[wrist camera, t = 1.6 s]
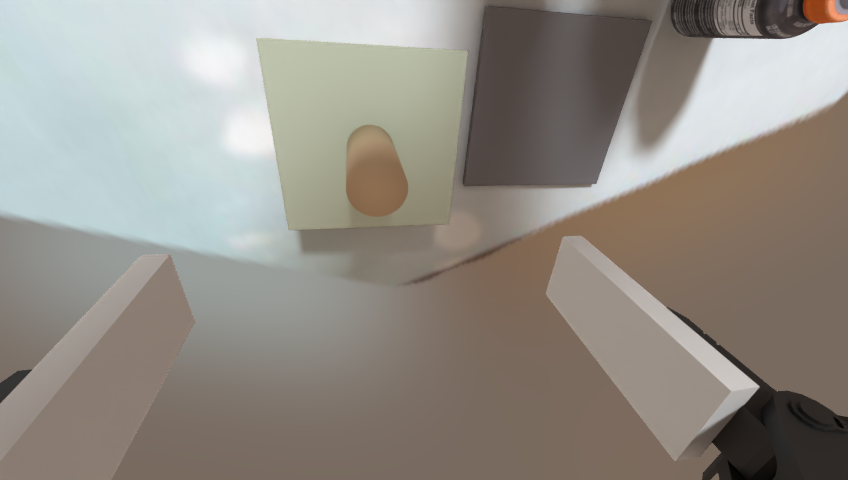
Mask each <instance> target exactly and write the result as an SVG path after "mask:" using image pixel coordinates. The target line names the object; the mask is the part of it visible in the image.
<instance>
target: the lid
mask: <svg viewBox="0 0 848 480" xmlns="http://www.w3.org/2000/svg"><path fill="white" fill-rule="evenodd" d="M256 40H257V46H258V52H259V58H260V64H261V70H262V76H263V82H264V88H265V93H266V99H267V105H268V111H269V117H270V123H271V129H272V135H273V141H274V147H275V153H276V159H277V164H278V170H279V176H280V182H281V188H282V194H283V200H284V206H285V212H286V218H287V224H288V229H289V230H307V229H334V228H360V227H387V226H413V225H440V224H449V217H450V208H451V199H452V190H453V181H454V172H455V163H456V154H457V146H458V137H459V128H460V119H461V110H462V101H463V92H464V83H465V74H466V65H467V56H468V51H464V50H448V49H432V48H416V47H399V46H383V45H367V44H351V43H335V42H319V41H303V40H286V39H270V38H256Z"/></svg>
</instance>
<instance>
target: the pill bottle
mask: <svg viewBox="0 0 848 480" xmlns="http://www.w3.org/2000/svg"><path fill="white" fill-rule="evenodd" d="M671 19H672V23H673V26H674V28H675V29H676V31H677V32H678V33H680V34H681V35H683V36H687V37H704V38H752V39H755V38H756V39H786V38H792V37H795V36H798V35H800V34H803V33H805V32H807V31H809V30H810V29H812V28H814V27H815V26H817V25H818V24H823V23H834V22H843V21H846V20H848V0H673V2H672V8H671Z"/></svg>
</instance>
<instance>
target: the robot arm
mask: <svg viewBox="0 0 848 480" xmlns="http://www.w3.org/2000/svg"><path fill="white" fill-rule="evenodd" d="M546 295H547V297H548V298H549V299H550V301H551V302H552V303H553V304H554V306H555V307H556V308H557V309H558V311H559V312H560V313H561V315H562V316H563V317H564V319H565V320H566V321H567V323H568V324H569V325H570V326H571V328H572V329H573V330H574V332H575V333H576V334H577V335H578V337H579V338H580V339H581V341H582V342H583V343H584V344H585V346H586V347H587V348H588V350H589V351H590V352H591V354H592V355H593V356H594V357H595V359H596V360H597V361H598V363H599V364H600V365H601V366H602V368H603V369H604V370H605V372H606V373H607V374H608V375H609V377H610V378H611V379H612V381H613V382H614V383H615V384H616V386H617V387H618V388H619V390H620V391H621V392H622V394H623V395H624V396H625V398H626V399H627V400H628V401H629V403H630V404H631V405H632V407H633V408H634V409H635V410H636V412H637V413H638V414H639V416H640V417H641V418H642V419H643V421H644V422H645V423H646V425H647V426H648V427H649V428H650V429H651V431H652V432H653V434H654V435H655V436H656V437H657V439H658V440H659V441H660V443H661V444H662V445H663V447H664V448H665V449H666V450H667V452H668V453H669V454H670V456H671V457H672V458H673V460H674V461H675V462H676V461H680V460H685V459H690V458H695V457H700V456H701V455H702V454H703V452H704V451H705V450H706V449H707V448H708V446H709V445H710V444H711V443H713V444H714V445H715V446H716V447H717V448H718V449H719V450H720V451H721V454H720V455H719V456H718V457H717V458H716V459H715V460H714V461H713V462H712V464H711V465H710V466H709V467H708V468H707V469H706V470H705V471H704V472H703V478H702V480H711V479H712V477H713V476H714V475H715V474H716V473H718V474H719V480H848V417H844V416H838V415H836V414H835V413H834V412H833V411H831V410H830V409H828V408H827V407H825V406H823V405H822V404H820V403H819V402H817V401H815V400H812V399H810V398H808V397H806V396H804V395H802V394H798V393H794V392H790V391H778V392H777V391H775V390H774V389H773V388H771V387H770V386H769V385H768V384H767V383H765V382H764V381H763V380H762V379H760V378H759V377H758V376H757V375H756V374H754V373H753V372H752V371H751V370H749V369H748V368H747V367H746V366H745V365H743V364H742V363H741V362H740V361H739V360H737V359H736V358H735V357H733V355H731V354H730V353H729V352H727V351H726V350H725V349H724V348H723V347H722V346H720V345H717V344H716V341H714V340H713V339H712V338H710V337H709V336H708V335H707V334H704V333H703V331H702V330H701V329H700V328H698V327H697V326H696V325H695V324H694V323H692V322H691V321H690V320H689V319H688V318H686V317H684V316H682V315H681V314H679V313H677V312H675V311H674V310H672V309H670V308H668V307H665V306H664V305H663V304H661V303H660V302H659V301H658V300H657V299H655V298H654V297H653V296H652V295H651V294H650V293H648V292H647V291H646V290H644V288H642V287H641V286H640V285H639V284H638V283H637V282H635V281H634V280H633V279H632V278H631V277H629V276H628V275H627V274H626V273H625V272H624V271H622V270H621V269H620V268H619V267H618V266H616V265H615V264H614V263H613V262H612V261H610V260H609V259H608V258H607V257H606V256H605V255H603V254H602V253H601V252H600V251H599V250H597V249H596V248H595V247H594V246H593V245H592V244H590V243H589V242H588V241H587V240H586V239H584V238H583V237H582V236H566V237H563V239H562V242H561V246H560V248H559V252H558V255H557V258H556V262H555V265H554V268H553V272H552V274H551V278H550V281H549V284H548V288H547V291H546ZM194 324H195V320H194V317H193V315H192V312H191V309H190V307H189V304H188V301H187V299H186V296H185V293H184V290H183V287H182V285H181V282H180V280H179V277H178V274H177V271H176V268H175V266H174V263H173V260H172V257H171V255H170V254H159V255H141V256H140V257H139V258H138V259H137V260H136V261H135V262H134V263H133V264H132V265H131V266H130V268H129V269H128V270H127V271H126V272H125V273H124V274H123V275H122V276H121V277H120V278H119V279H118V280H117V281H116V282H115V283H114V284H113V286H112V287H111V288H110V289H109V290H108V291H107V292H106V293H105V294H104V295H103V296H102V297H101V298H100V299H99V300H98V301H97V302H96V303H95V304H94V306H92V308H91V309H90V310H89V311H88V312H87V313H86V314H85V315H84V316H83V317H82V318H81V319H80V320H79V321H78V322H77V323H76V325H74V327H73V328H72V329H71V330H70V331H69V332H68V333H67V334H66V335H65V336H64V337H63V338H62V339H61V340H60V341H59V343H57V344H56V345H55V347H54V348H53V349H52V350H51V351H50V352H49V353H48V354H47V355H46V356H45V357H44V358H43V359H42V360H41V361H40V362H39V363H38V364H37V366H36V367H35V368H34V369H33V370H22V371H17V372H16V373H14V374H13V375H11V376H10V377H8V378H7V379H6V380H4V381H2V382H1V383H0V480H111V479H112V477H113V475H114V473H115V471H116V470H117V468H118V466H119V464H120V462H121V460H122V458H123V456H124V454H125V453H126V451H127V449H128V447H129V445H130V443H131V441H132V440H133V438H134V436H135V434H136V432H137V430H138V428H139V426H140V424H141V423H142V421H143V419H144V417H145V415H146V413H147V412H148V410H149V408H150V406H151V404H152V402H153V400H154V398H155V397H156V395H157V393H158V391H159V389H160V387H161V385H162V383H163V382H164V380H165V378H166V376H167V374H168V372H169V370H170V369H171V367H172V365H173V363H174V361H175V359H176V357H177V355H178V354H179V352H180V350H181V348H182V346H183V344H184V342H185V340H186V338H187V337H188V335H189V333H190V331H191V329H192V327H193V326H194Z"/></svg>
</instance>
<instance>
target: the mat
mask: <svg viewBox="0 0 848 480" xmlns="http://www.w3.org/2000/svg"><path fill="white" fill-rule="evenodd" d="M651 23H652V21H650V20H639V19H628V18H616V17H605V16H594V15H582V14H571V13H560V12H549V11H537V10H526V9H515V8H504V7H492V6H485V13H484V21H483V29H482V37H481V44H480V52H479V60H478V68H477V76H476V84H475V92H474V99H473V107H472V115H471V123H470V131H469V139H468V147H467V154H466V162H465V170H464V178H463V185H464V186H486V185H548V184H596V183H597V180H598V177H599V174H600V171H601V168H602V165H603V162H604V159H605V156H606V154H607V151H608V148H609V145H610V142H611V139H612V136H613V133H614V130H615V127H616V124H617V122H618V119H619V116H620V113H621V110H622V107H623V104H624V101H625V98H626V95H627V93H628V90H629V87H630V84H631V81H632V78H633V75H634V72H635V69H636V66H637V63H638V61H639V58H640V55H641V52H642V49H643V46H644V43H645V40H646V37H647V34H648V32H649V29H650V26H651Z"/></svg>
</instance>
